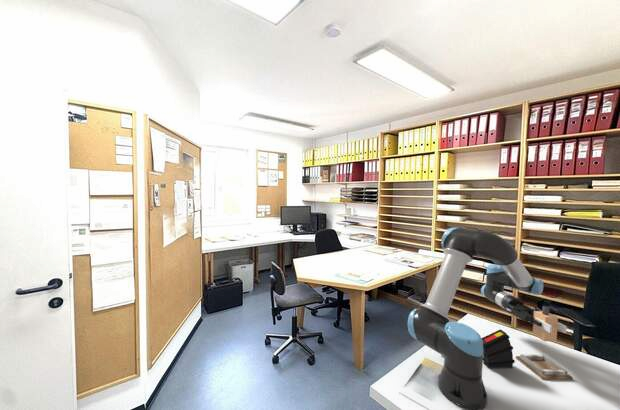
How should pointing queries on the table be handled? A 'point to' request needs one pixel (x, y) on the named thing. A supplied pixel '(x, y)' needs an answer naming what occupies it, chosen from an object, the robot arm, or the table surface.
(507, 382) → the table surface
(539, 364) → the tray
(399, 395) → the table surface
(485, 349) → the magazine
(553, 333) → the orange bottle
